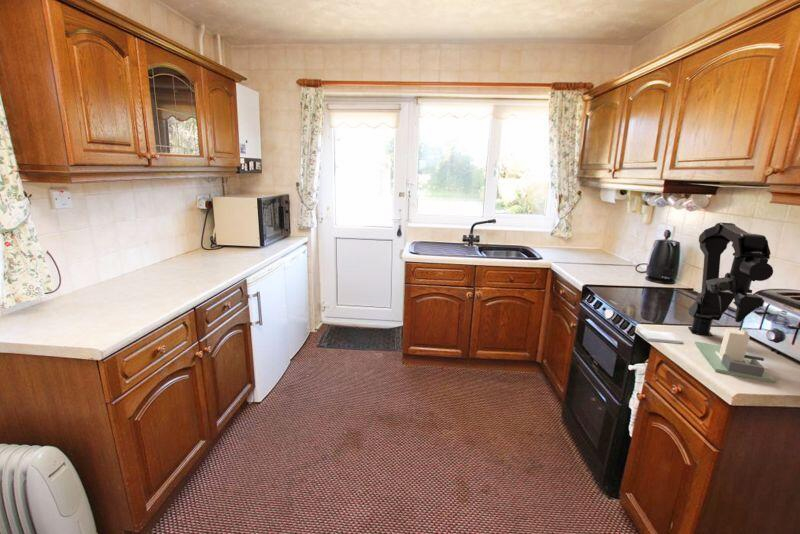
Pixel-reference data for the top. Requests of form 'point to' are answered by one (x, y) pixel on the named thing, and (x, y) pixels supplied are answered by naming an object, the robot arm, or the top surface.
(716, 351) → the board
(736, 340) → the plug
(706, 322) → the robot arm
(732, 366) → the header
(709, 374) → the top surface
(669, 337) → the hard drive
